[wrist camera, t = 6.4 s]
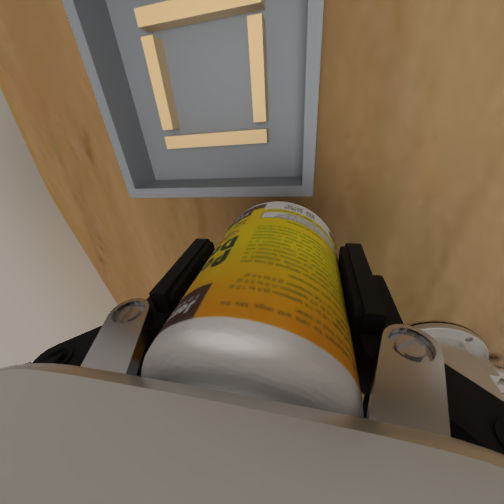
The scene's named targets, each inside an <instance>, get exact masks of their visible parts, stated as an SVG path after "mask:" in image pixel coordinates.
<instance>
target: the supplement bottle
mask: <svg viewBox="0 0 504 504" xmlns="http://www.w3.org/2000/svg"><path fill="white" fill-rule="evenodd" d="M141 377H146V378H151V379H157V380H163V381H168V382H174V383H179V384H185V385H190V386H196V387H201V388H207V389H212V390H218V391H223V392H229V393H234V394H239V395H245V396H250V397H256V398H261V399H267V400H272V401H277V402H282V403H288V404H293V405H298V406H304V407H309V408H314V409H319V410H325V411H330V412H335V413H341V414H346V415H351V416H356V417H361V418H364V412H363V404H362V395H361V389H360V383H359V377H358V372H357V367H356V360H355V355H354V349H353V344H352V339H351V333H350V326H349V322H348V316H347V310H346V305H345V299H344V293H343V288H342V283H341V277H340V271H339V265H338V259H337V253H336V248H335V243H334V239H333V236H332V234H331V232H330V230H329V228H328V227H327V225H326V224H325V223H324V222H323V220H322V219H321V218H320V217H319V216H317V215H316V214H315V213H313V212H312V211H310V210H309V209H307V208H305V207H303V206H300V205H297V204H294V203H290V202H282V201H274V202H266V203H262V204H258V205H256V206H253V207H251V208H250V209H248V210H246V211H245V212H243V213H242V214H241V215H240V216H239V217H238V218H237V219H236V220H235V221H234V223H233V224H232V225H231V227H230V228H229V230H228V231H227V232H226V234H225V235H224V237H223V239H222V240H221V242H220V243H219V244H218V246H217V247H216V249H215V250H214V252H213V253H212V255H211V256H210V258H209V259H208V261H207V262H206V264H205V265H204V267H203V268H202V270H201V271H200V273H199V274H198V276H197V277H196V279H195V280H194V282H193V283H192V284H191V286H190V287H189V289H188V290H187V292H186V293H185V295H184V296H183V298H182V299H181V301H180V302H179V304H178V305H177V307H176V308H175V310H174V311H173V313H172V314H171V316H170V317H169V319H168V320H167V322H166V323H165V324H164V326H163V327H162V329H161V330H160V331H159V333H158V335H157V336H156V338H155V339H154V341H153V343H152V345H151V346H150V348H149V349H148V351H147V353H146V355H145V357H144V361H143V364H142V369H141Z"/></svg>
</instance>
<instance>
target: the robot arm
mask: <svg viewBox="0 0 504 504" xmlns="http://www.w3.org/2000/svg"><path fill="white" fill-rule="evenodd" d="M214 250H215V249H214V244H213V243H212V242H210V240H209V239H196V240H195V241H194V242H193V243H192V244H191V245H190V247H189V248H188V249H187V250H186V251H185V252H184V254H183V255H182V256H181V257H180V258H179V259H178V261H177V262H176V263H175V264H174V265H173V266H172V267H171V269H170V270H169V271H168V272H167V273H166V274H165V276H164V277H163V278H162V279H161V280H160V281H159V282H158V284H157V285H156V286H155V287H154V288H153V289H152V291H151V292H150V293H149V294H150V296H149V298H148V299H147V300H145V299H142V298H134V299H130V300H127V301H125V302H122V303H121V304H119V305H117V306H116V307H115V308H114V309H113V310H112V311H111V312H110V313H109V315H108V317H107V318H106V320H105V322H104V324H103V325H102V326H100V327H98V328H96V329H93V330H91V331H88V332H86V333H84V334H81V335H79V336H77V337H74V338H72V339H70V340H67V341H65V342H63V343H60V344H58V345H56V346H54V347H52V348H50V349H48V350H46V351H45V352H44V353H42V354H41V355H40V356H39V357H38V358H37V359H35V361H34V362H33V363H31V362H28V363H26V364H23V365H15V366H9V367H4V368H0V504H504V396H503V394H504V368H498V367H495V366H494V365H492V364H491V363H490V361H489V351H488V348H487V346H486V345H485V344H484V342H483V341H482V339H481V338H480V337H479V336H478V335H477V334H475V333H473V332H472V331H470V330H468V329H466V328H463V327H461V326H457V325H452V324H445V323H426V324H418V325H414V326H410V325H406V324H403V322H402V320H401V317H400V315H399V313H398V311H397V308H396V306H395V304H394V301H393V299H392V297H391V294H390V292H389V290H388V288H387V285H386V283H385V281H384V278H383V277H382V276H379V275H372V272H371V270H370V267H369V264H368V262H367V259H366V256H365V254H364V251H363V248H362V246H361V244H350V243H346V245H345V247H340V252H339V260H338V265H339V271H340V277H341V283H342V288H343V293H344V299H345V305H346V310H347V316H348V322H349V326H350V333H351V339H352V344H353V349H354V355H355V360H356V367H357V372H358V377H359V383H360V389H361V392H362V393H363V398H362V404H363V412H364V418H361V417H356V416H351V415H346V414H341V413H335V412H330V411H325V410H319V409H314V408H309V407H304V406H298V405H293V404H288V403H282V402H277V401H272V400H267V399H261V398H256V397H250V396H245V395H239V394H234V393H229V392H223V391H218V390H212V389H207V388H201V387H196V386H190V385H185V384H179V383H174V382H168V381H163V380H157V379H151V378H146V377H141V369H142V364H143V361H144V357H145V355H146V353H147V351H148V349H149V348H150V346H151V345H152V343H153V341H154V339H155V338H156V336H157V335H158V333H159V331H160V330H161V329H162V327H163V326H164V324H165V323H166V322H167V320H168V319H169V317H170V316H171V314H172V313H173V311H174V310H175V308H176V307H177V305H178V304H179V302H180V301H181V299H182V298H183V296H184V295H185V293H186V292H187V290H188V289H189V287H190V286H191V284H192V283H193V282H194V280H195V279H196V277H197V276H198V274H199V273H200V271H201V270H202V268H203V267H204V265H205V264H206V262H207V261H208V259H209V258H210V256H211V255H212V253H213V252H214Z"/></svg>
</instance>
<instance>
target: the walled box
mask: <svg viewBox="0 0 504 504" xmlns="http://www.w3.org/2000/svg"><path fill="white" fill-rule="evenodd" d="M62 2H63V5H64V8H65V11H66V14H67V16H68V19H69V22H70V25H71V28H72V31H73V34H74V37H75V40H76V42H77V45H78V48H79V51H80V54H81V57H82V60H83V63H84V66H85V68H86V71H87V74H88V77H89V80H90V83H91V86H92V89H93V91H94V94H95V97H96V100H97V103H98V106H99V109H100V112H101V115H102V117H103V120H104V123H105V126H106V129H107V132H108V135H109V138H110V140H111V143H112V146H113V149H114V152H115V155H116V158H117V161H118V164H119V166H120V169H121V172H122V175H123V178H124V181H125V184H126V187H127V189H128V192H129V195H130V198H174V197H294V196H313V184H314V166H315V149H316V131H317V113H318V96H319V78H320V60H321V43H322V25H323V7H324V0H62Z"/></svg>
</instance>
